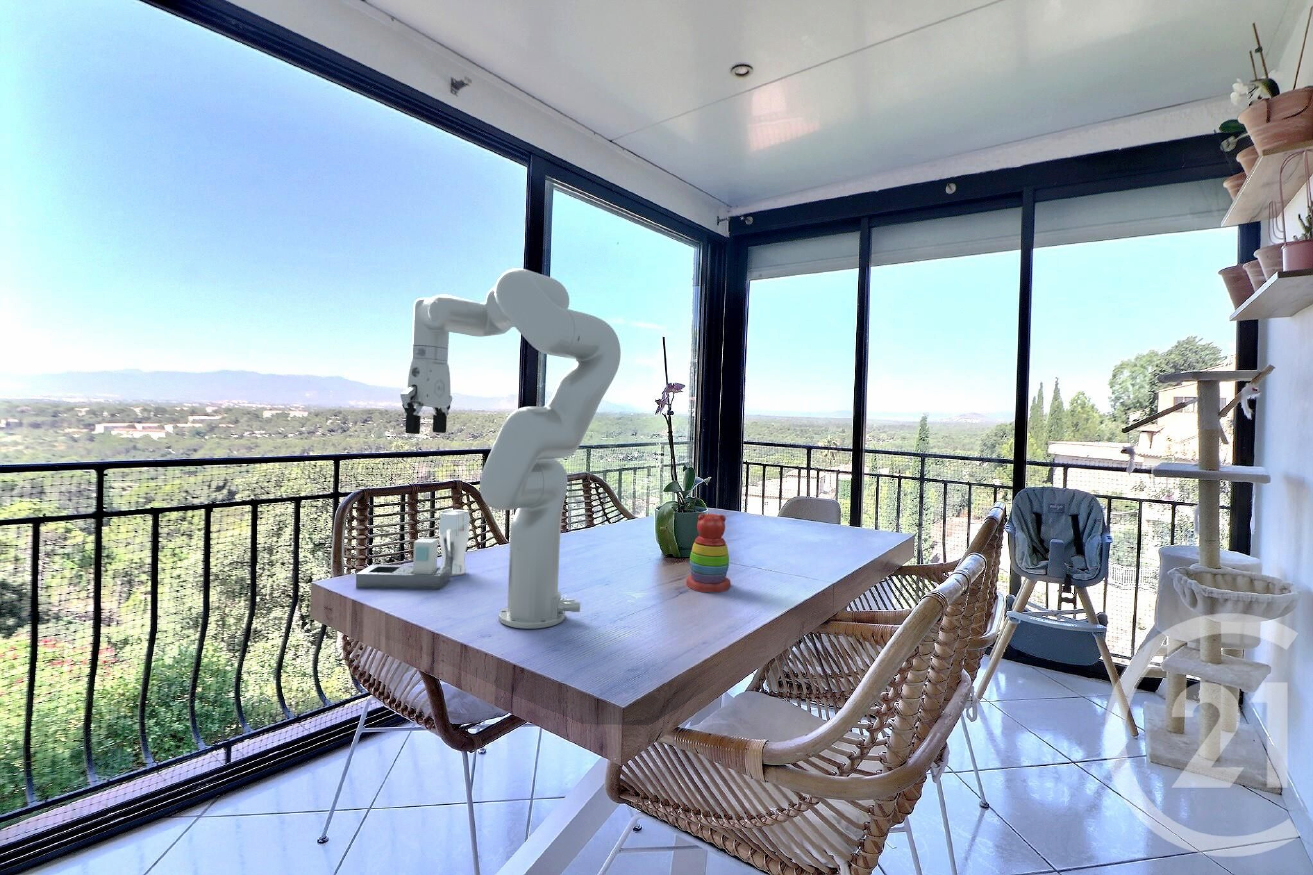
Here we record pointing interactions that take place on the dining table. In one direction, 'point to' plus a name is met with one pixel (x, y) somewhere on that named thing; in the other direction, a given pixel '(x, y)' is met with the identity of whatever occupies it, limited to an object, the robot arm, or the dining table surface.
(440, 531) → the beer glass
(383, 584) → the panel
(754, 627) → the dining table surface
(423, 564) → the plug
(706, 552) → the stacking bear
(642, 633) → the dining table surface
